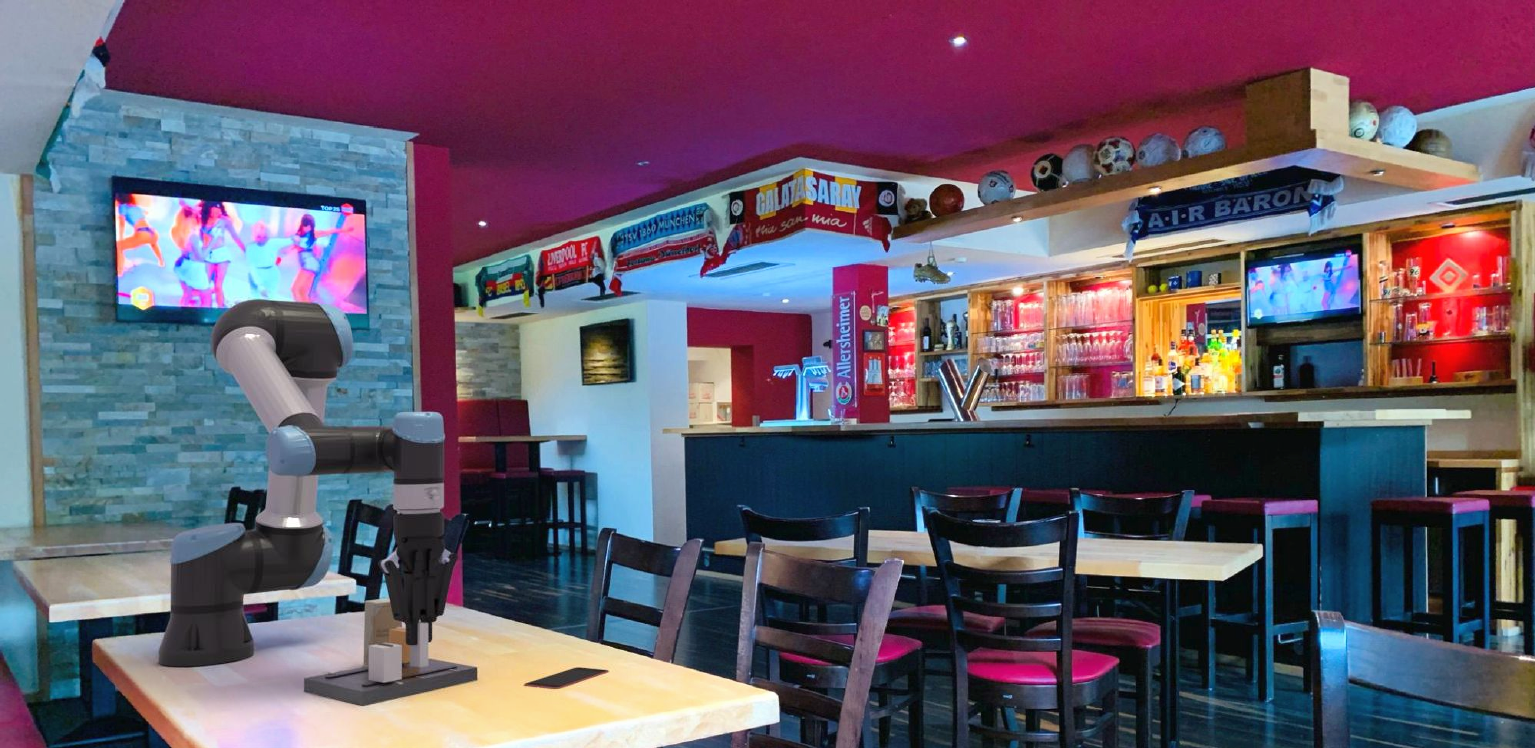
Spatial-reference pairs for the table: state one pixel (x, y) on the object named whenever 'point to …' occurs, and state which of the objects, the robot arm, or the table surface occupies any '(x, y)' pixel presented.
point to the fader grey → (385, 662)
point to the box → (377, 624)
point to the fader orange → (400, 642)
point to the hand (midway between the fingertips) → (419, 665)
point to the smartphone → (566, 678)
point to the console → (365, 691)
